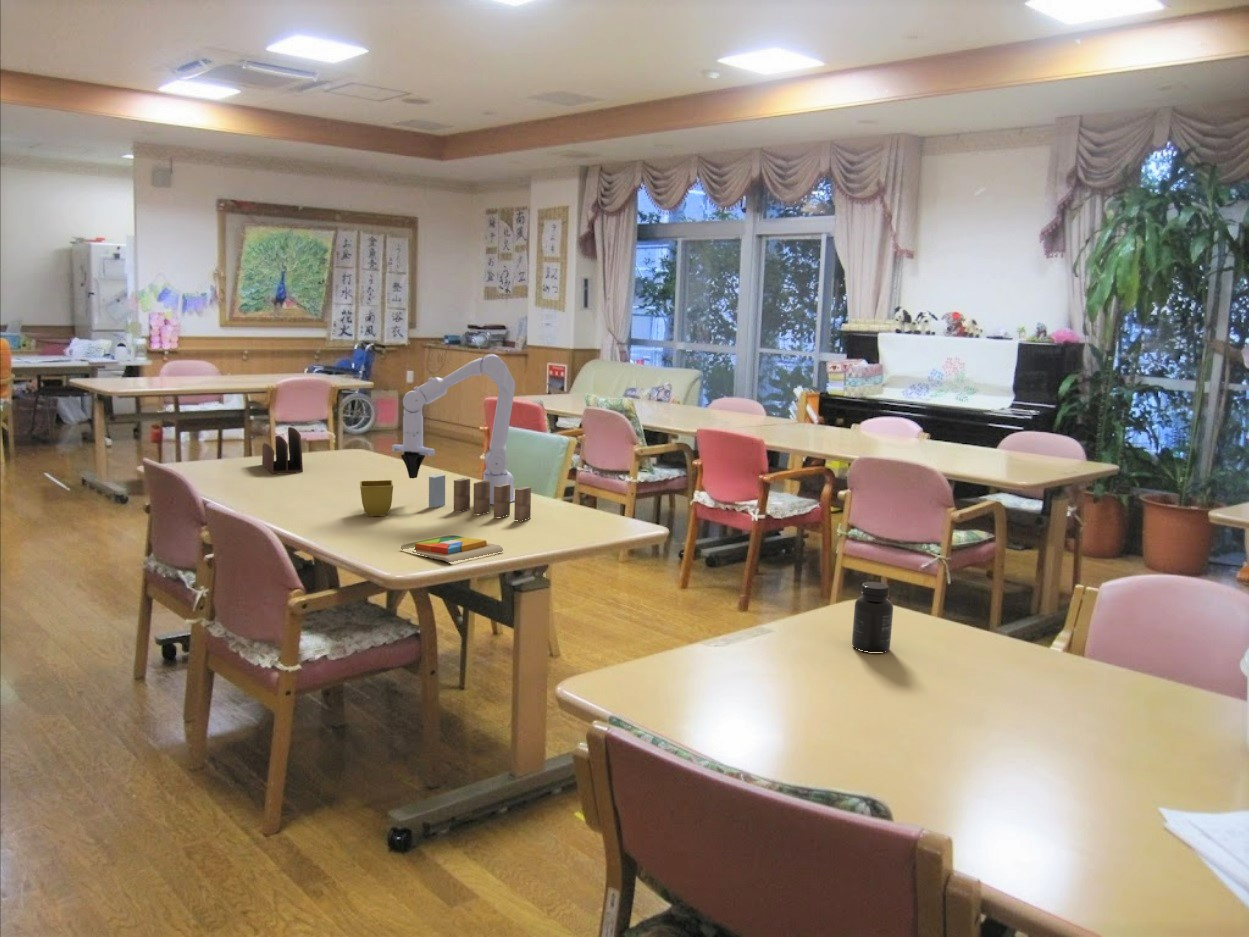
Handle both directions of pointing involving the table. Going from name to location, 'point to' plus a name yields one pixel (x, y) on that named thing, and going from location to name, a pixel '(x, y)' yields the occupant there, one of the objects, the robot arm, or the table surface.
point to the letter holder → (284, 454)
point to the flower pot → (376, 497)
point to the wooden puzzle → (452, 547)
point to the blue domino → (436, 491)
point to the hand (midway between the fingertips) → (413, 477)
